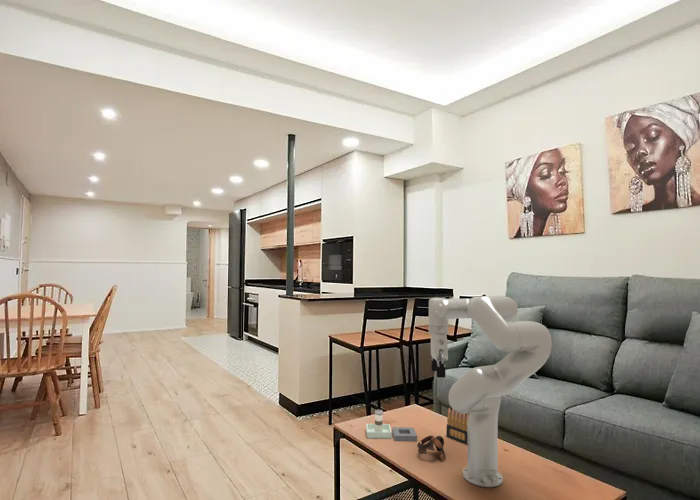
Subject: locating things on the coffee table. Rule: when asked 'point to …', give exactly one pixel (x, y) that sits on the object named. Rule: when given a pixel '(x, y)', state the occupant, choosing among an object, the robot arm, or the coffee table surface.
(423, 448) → the pottery mug
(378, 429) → the cylinder
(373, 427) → the parts tray
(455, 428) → the ammunition clip
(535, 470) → the coffee table surface
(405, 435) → the socket block
